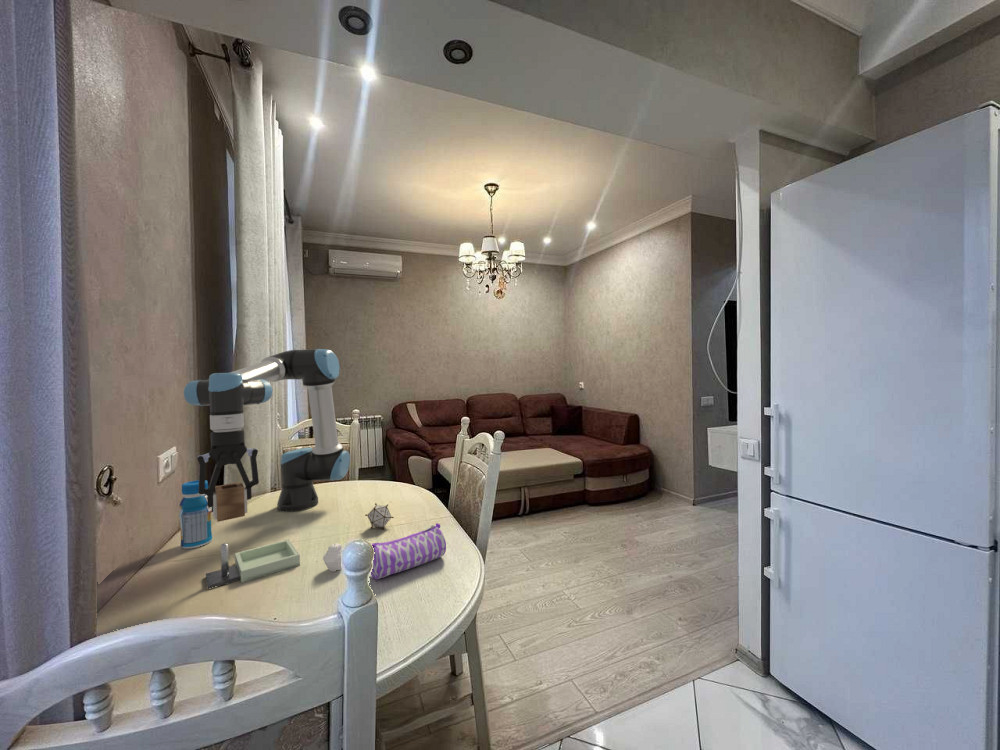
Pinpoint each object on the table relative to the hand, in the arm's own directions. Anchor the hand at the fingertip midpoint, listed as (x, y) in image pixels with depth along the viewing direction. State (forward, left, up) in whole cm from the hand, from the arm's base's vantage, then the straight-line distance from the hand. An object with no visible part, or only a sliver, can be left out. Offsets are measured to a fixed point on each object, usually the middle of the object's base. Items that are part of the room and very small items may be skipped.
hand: (230, 514), depth 108 cm
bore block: (0, 0, 0) cm, 0 cm away
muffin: (-22, +15, -17) cm, 32 cm away
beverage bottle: (+7, -33, -17) cm, 37 cm away
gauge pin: (+2, 0, -16) cm, 17 cm away
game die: (-43, -5, -17) cm, 47 cm away
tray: (-8, -1, -16) cm, 19 cm away
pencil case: (-38, +28, -17) cm, 50 cm away
